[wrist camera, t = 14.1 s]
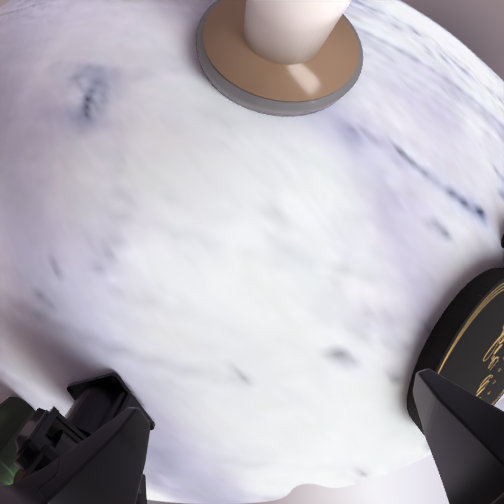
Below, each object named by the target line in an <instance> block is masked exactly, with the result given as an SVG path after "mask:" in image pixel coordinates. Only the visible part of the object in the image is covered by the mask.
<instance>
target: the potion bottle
mask: <svg viewBox="0 0 504 504" xmlns="http://www.w3.org/2000/svg"><path fill="white" fill-rule="evenodd" d="M35 412H36V411H35V410H34V409H33V408H32V407H30V406H29V405H28V404H27V403H26V402H24V401H22V400H21V399H19V398H14V397H9V398H8V399H6V400H5V401H4V402H3V403H2V404H0V485H10V484H13V480H14V476H15V474H16V472H17V471H18V469H19V468H18V467H17V466H16V465H15V464H14V463H13V461H14V459H15V457H16V454H15V453H16V451H17V447H16V443H15V439H16V437H17V436H18V435H19V433H20V432H21V430H22V429H23V427H24V426H25V425H26V423H27V422H28V421H29V419H30V418H31V417H32V416H33V414H34V413H35Z"/></svg>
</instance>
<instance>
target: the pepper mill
mask: <svg viewBox="0 0 504 504" xmlns="http://www.w3.org/2000/svg"><path fill="white" fill-rule="evenodd" d="M351 1H352V0H246V9H245V20H244V38H245V41H246V43H247V45H248V46H249V48H250V49H251V50H252V51H253V52H254V53H256V54H257V55H258V56H260V57H262V58H264V59H266V60H268V61H271V62H274V63H278V64H285V65H292V64H300V63H303V62H306V61H308V60H310V59H312V58H313V57H314V56H315V55H316V54H317V53H318V51H319V50H320V48H321V47H322V45H323V44H324V42H325V40H326V39H327V37H328V36H329V34H330V33H331V31H332V29H333V28H334V26H335V25H336V23H337V22H338V20H339V19H340V17H341V16H342V14H343V13H344V11H345V10H346V8H347V7H348V5H349V4H350V2H351Z"/></svg>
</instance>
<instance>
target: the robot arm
mask: <svg viewBox="0 0 504 504" xmlns="http://www.w3.org/2000/svg"><path fill="white" fill-rule="evenodd" d="M113 378H115V379H116V380H114V379H113ZM67 390H68V392H69V393H70V395H71V396H72V397H73V399H74V400H75V402H74V404H73V405H72V406H71V408H70V409H69V411H68V412H67V414H66V415H65V417H64V416H62V415H61V414H60V413H59V411H58V410H57V409H56V408H55V407H53V408H52V409H51V410H50V411H47V410H43V409H41V408H38V409H37V410H36V412H35V413H34V414H33V416H32V417H31V418H30V419H29V421H28V422H27V423H26V425H25V426H24V427H23V429H22V430H21V432H20V433H19V435H18V436H17V437H16V439H15V443H16V447H17V451H16V453H15V454H16V457H15V459H14V461H13V463H14V464H15V465H16V466H17V467H18V468H19V469H18V471H17V472H16V474H15V476H14V480H13V484H10V485H0V504H147V498H146V480H145V475H144V474H143V470H144V466H145V461H146V455H147V447H148V441H149V434H150V430H153V429H154V427H155V424H154V422H153V421H152V420H151V418H150V417H149V416H148V415H147V413H146V412H145V411H144V409H143V408H142V407H141V405H140V404H139V403H138V401H137V400H136V399H135V397H134V396H133V395H132V394H131V392H130V391H129V389H128V388H127V387H126V385H125V384H124V382H123V381H122V379H121V378H120V376H119V375H118V374H116V373H110V374H106V375H103V376H99V377H95V378H92V379H88V380H84V381H80V382H76V383H72V384H69V385H68V387H67ZM413 396H414V399H415V403H416V406H417V410H418V413H419V417H420V420H421V424H422V428H423V431H424V434H425V437H426V440H427V442H428V445H429V447H430V450H431V453H432V455H433V458H434V460H435V463H436V466H437V468H438V471H439V474H440V477H441V480H442V482H443V485H444V488H445V491H446V494H447V498H448V500H449V504H504V411H502V410H500V409H498V408H497V407H495V406H493V405H491V404H490V403H488V402H486V401H484V400H483V399H481V398H479V397H477V396H476V395H474V394H472V393H470V392H469V391H467V390H465V389H464V388H462V387H460V386H458V385H457V384H455V383H453V382H451V381H450V380H448V379H446V378H445V377H443V376H441V375H439V374H438V373H436V372H434V371H433V370H431V369H424V370H421V371H418V372H417V373H416V376H415V382H414V387H413Z"/></svg>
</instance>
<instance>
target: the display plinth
mask: <svg viewBox="0 0 504 504" xmlns="http://www.w3.org/2000/svg"><path fill="white" fill-rule="evenodd" d="M245 9H246V0H217V1H216V2H215V3H214V4H213V5H212V6H210V8H209V9H208V10H207V11H206V12H205V14H204V15H203V17H202V19H201V20H200V23H199V25H198V29H197V34H196V46H197V52H198V56H199V61H200V64H201V67H202V69H203V71H204V73H205V75H206V77H207V78H208V80H209V81H210V82H211V84H212V85H213V86H214V87H215V88H216V89H217V90H218V91H219V92H220V93H222V94H223V95H224V96H225V97H227V98H228V99H230V100H231V101H233V102H235V103H236V104H238V105H240V106H243V107H245V108H247V109H250V110H253V111H256V112H259V113H263V114H268V115H274V116H302V115H307V114H312V113H315V112H318V111H321V110H323V109H325V108H327V107H329V106H331V105H332V104H334V103H335V102H337V101H338V100H339V99H340V98H341V97H343V96H344V95H345V94H346V93H347V92H348V91H349V90H350V89H351V88H352V87H353V85H354V84H355V83H356V81H357V80H358V77H359V75H360V73H361V69H362V65H363V50H362V46H361V42H360V39H359V37H358V34H357V32H356V30H355V29H354V27H353V25H352V24H351V23H350V21H349V20H348V19H347V18H346V17H345V16H344V15H343V14H342V16H341V17H340V19H339V20H338V22H337V23H336V25H335V26H334V28H333V29H332V31H331V33H330V34H329V36H328V37H327V39H326V40H325V42H324V44H323V45H322V47H321V48H320V50H319V51H318V53H317V54H316V55H315V56H314V57H313V58H312V59H310V60H308V61H306V62H303V63H300V64H292V65H285V64H278V63H274V62H271V61H268V60H266V59H264V58H262V57H260V56H258V55H257V54H256V53H254V52H253V51H252V50H251V49H250V48H249V46H248V45H247V43H246V41H245V38H244V20H245Z"/></svg>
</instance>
